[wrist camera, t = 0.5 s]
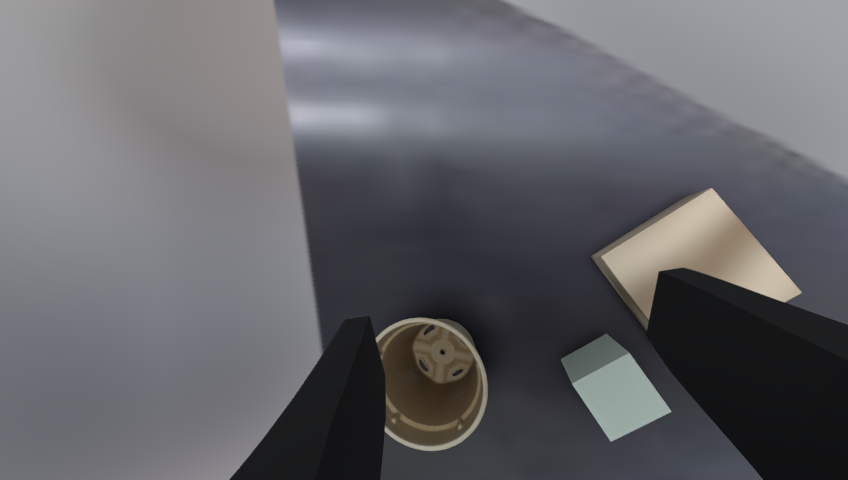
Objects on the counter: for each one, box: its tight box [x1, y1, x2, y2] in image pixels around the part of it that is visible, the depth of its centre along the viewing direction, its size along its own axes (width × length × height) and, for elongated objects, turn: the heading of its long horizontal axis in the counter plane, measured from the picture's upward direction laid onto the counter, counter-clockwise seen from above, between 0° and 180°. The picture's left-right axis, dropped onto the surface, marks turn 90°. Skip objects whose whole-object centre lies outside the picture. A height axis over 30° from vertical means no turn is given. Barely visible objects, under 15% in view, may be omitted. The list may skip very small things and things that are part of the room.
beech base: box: [591, 188, 802, 331], centre depth 27 cm, size 9×9×4 cm
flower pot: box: [376, 318, 488, 451], centre depth 29 cm, size 9×9×9 cm
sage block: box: [561, 334, 671, 442], centre depth 27 cm, size 4×4×6 cm
